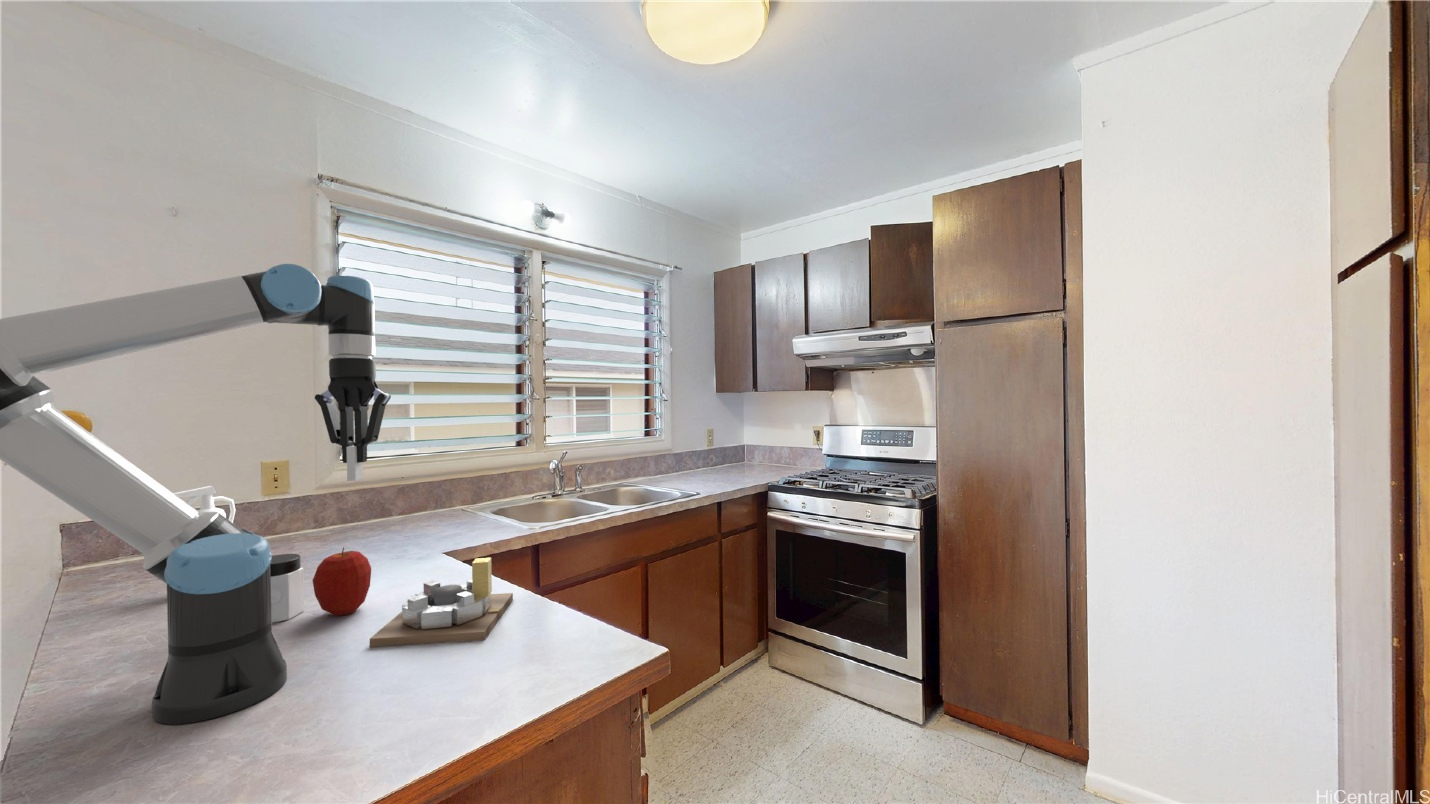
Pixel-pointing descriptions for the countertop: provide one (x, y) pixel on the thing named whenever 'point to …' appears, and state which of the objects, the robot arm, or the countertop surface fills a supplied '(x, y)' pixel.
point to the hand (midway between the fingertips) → (355, 479)
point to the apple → (342, 582)
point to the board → (466, 631)
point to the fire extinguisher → (207, 500)
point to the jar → (286, 587)
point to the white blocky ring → (466, 608)
